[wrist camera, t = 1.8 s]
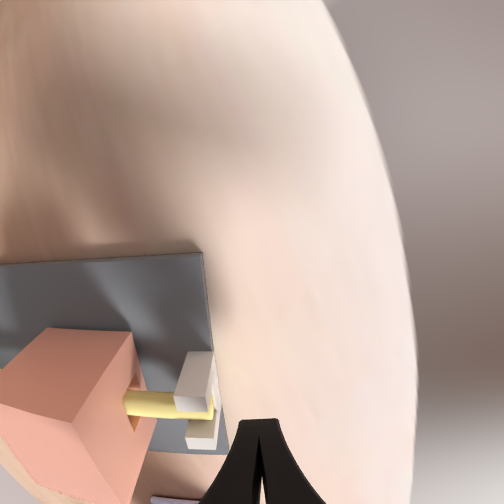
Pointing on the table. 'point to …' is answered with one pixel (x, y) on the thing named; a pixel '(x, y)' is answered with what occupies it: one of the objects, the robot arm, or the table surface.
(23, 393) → the marker sleeve
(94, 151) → the table surface
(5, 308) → the cord rig
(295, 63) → the table surface
